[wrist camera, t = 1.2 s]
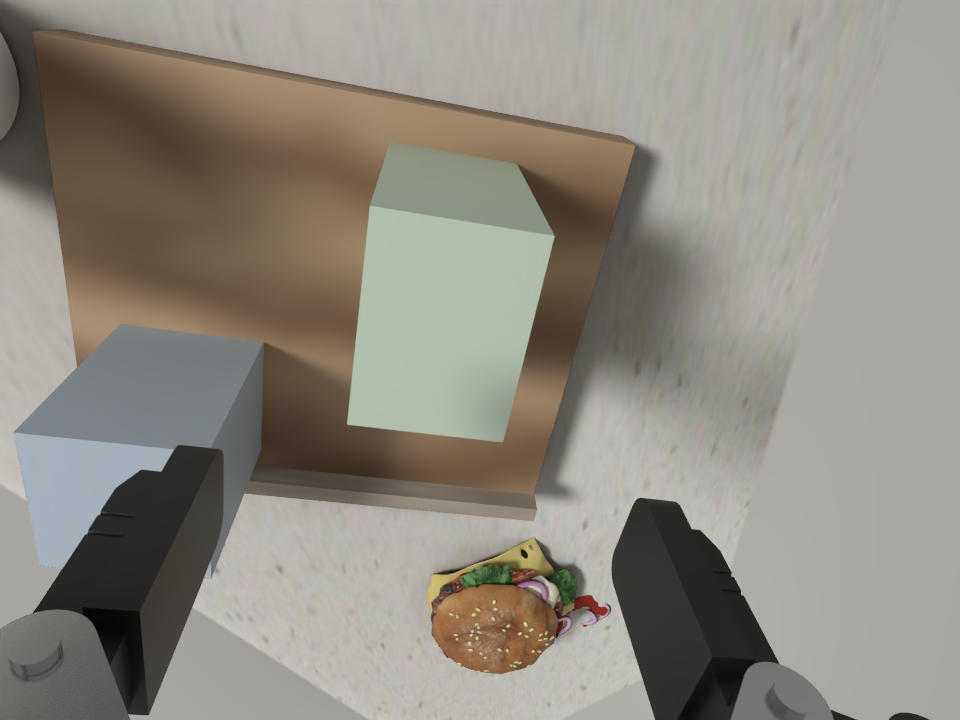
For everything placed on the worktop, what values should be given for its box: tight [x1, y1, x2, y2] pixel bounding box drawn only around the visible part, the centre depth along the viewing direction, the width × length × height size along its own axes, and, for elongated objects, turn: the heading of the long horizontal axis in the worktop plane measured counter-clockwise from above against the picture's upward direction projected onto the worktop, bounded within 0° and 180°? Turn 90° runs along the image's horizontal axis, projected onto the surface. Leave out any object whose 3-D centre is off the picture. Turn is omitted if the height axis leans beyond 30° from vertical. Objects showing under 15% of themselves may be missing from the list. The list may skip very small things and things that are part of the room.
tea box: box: [347, 141, 555, 442], centre depth 22 cm, size 5×7×9 cm
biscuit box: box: [13, 324, 264, 579], centre depth 26 cm, size 6×6×8 cm
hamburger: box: [427, 538, 611, 674], centre depth 38 cm, size 14×14×6 cm
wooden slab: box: [32, 29, 636, 521], centre depth 28 cm, size 19×22×3 cm
